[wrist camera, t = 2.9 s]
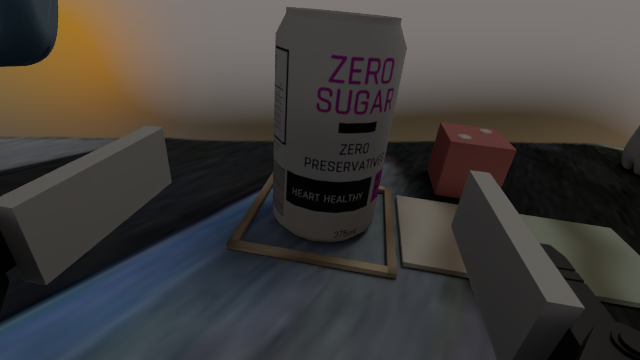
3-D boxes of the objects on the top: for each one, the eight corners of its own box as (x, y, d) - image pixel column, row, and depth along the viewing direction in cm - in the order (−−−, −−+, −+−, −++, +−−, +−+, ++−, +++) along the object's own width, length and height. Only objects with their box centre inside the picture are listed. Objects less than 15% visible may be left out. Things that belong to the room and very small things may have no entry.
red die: (435, 194, 31) (451, 139, 28) (427, 169, 36) (440, 120, 33) (494, 203, 31) (517, 148, 28) (478, 176, 36) (496, 127, 33)
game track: (226, 248, 22) (226, 244, 22) (274, 173, 32) (274, 170, 32) (716, 336, 19) (720, 332, 19) (599, 223, 29) (601, 219, 29)
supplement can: (318, 181, 32) (335, 10, 24) (390, 218, 27) (436, 21, 20) (251, 211, 26) (247, 3, 19) (327, 265, 22) (359, 16, 14)
